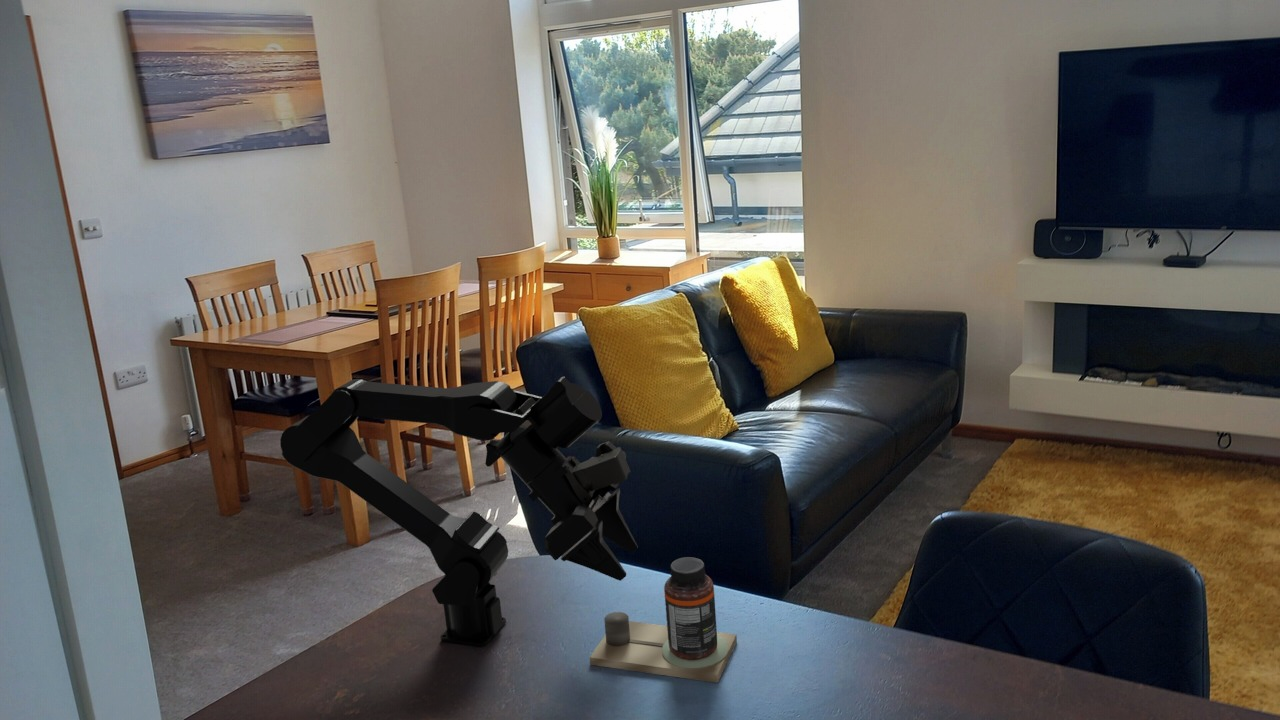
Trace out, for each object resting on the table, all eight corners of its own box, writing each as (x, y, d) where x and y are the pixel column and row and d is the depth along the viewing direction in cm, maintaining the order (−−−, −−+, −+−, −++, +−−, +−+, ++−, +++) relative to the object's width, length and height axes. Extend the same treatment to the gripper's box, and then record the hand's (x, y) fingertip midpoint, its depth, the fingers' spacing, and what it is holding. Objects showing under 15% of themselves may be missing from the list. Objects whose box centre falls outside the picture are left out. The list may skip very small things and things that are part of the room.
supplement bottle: (679, 632, 122) (673, 549, 119) (724, 639, 120) (719, 555, 117) (661, 657, 117) (654, 572, 114) (707, 666, 115) (702, 578, 112)
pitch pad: (653, 663, 116) (653, 662, 116) (673, 628, 124) (673, 627, 123) (718, 672, 114) (718, 671, 113) (735, 636, 121) (735, 635, 121)
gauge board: (590, 664, 119) (587, 635, 118) (616, 626, 127) (614, 598, 126) (717, 682, 113) (715, 652, 112) (736, 641, 121) (735, 612, 120)
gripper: (575, 446, 108) (669, 550, 109) (605, 410, 126) (685, 499, 127) (504, 508, 111) (597, 610, 111) (544, 464, 129) (623, 551, 129)
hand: (629, 563), depth 120 cm, fingers open, 9 cm apart
